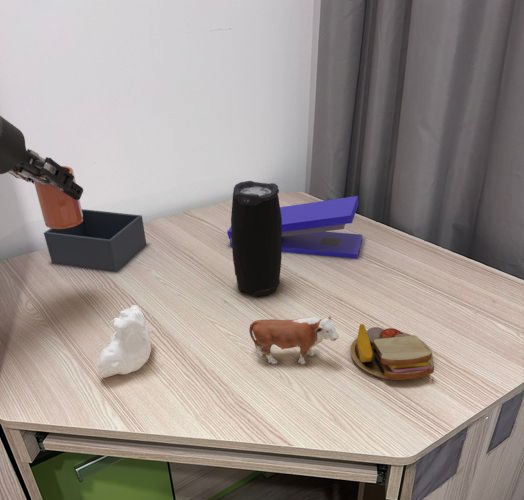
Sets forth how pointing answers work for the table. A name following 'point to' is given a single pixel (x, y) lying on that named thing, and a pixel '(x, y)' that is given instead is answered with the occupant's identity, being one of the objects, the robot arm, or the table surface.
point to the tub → (98, 241)
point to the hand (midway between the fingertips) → (65, 190)
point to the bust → (126, 344)
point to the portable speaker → (256, 237)
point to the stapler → (319, 228)
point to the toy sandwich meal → (391, 354)
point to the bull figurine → (291, 335)
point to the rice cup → (58, 206)
